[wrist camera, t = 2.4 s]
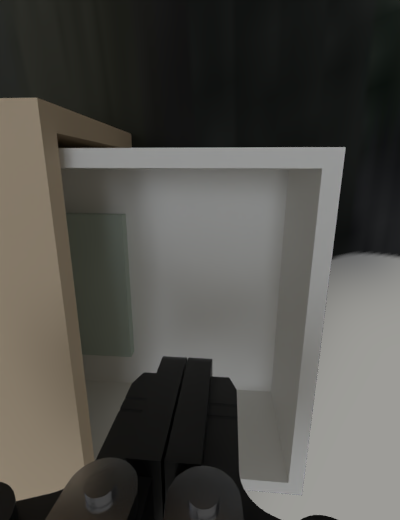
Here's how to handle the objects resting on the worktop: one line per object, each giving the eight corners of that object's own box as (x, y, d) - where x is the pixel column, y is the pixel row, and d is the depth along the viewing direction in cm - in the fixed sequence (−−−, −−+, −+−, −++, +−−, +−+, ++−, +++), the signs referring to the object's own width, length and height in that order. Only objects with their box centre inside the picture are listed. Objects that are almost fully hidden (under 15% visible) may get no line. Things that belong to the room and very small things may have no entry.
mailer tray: (-68, 156, 17) (-229, 149, 11) (299, 156, 15) (345, 147, 9) (-19, 375, 20) (-119, 457, 14) (279, 394, 19) (301, 495, 13)
